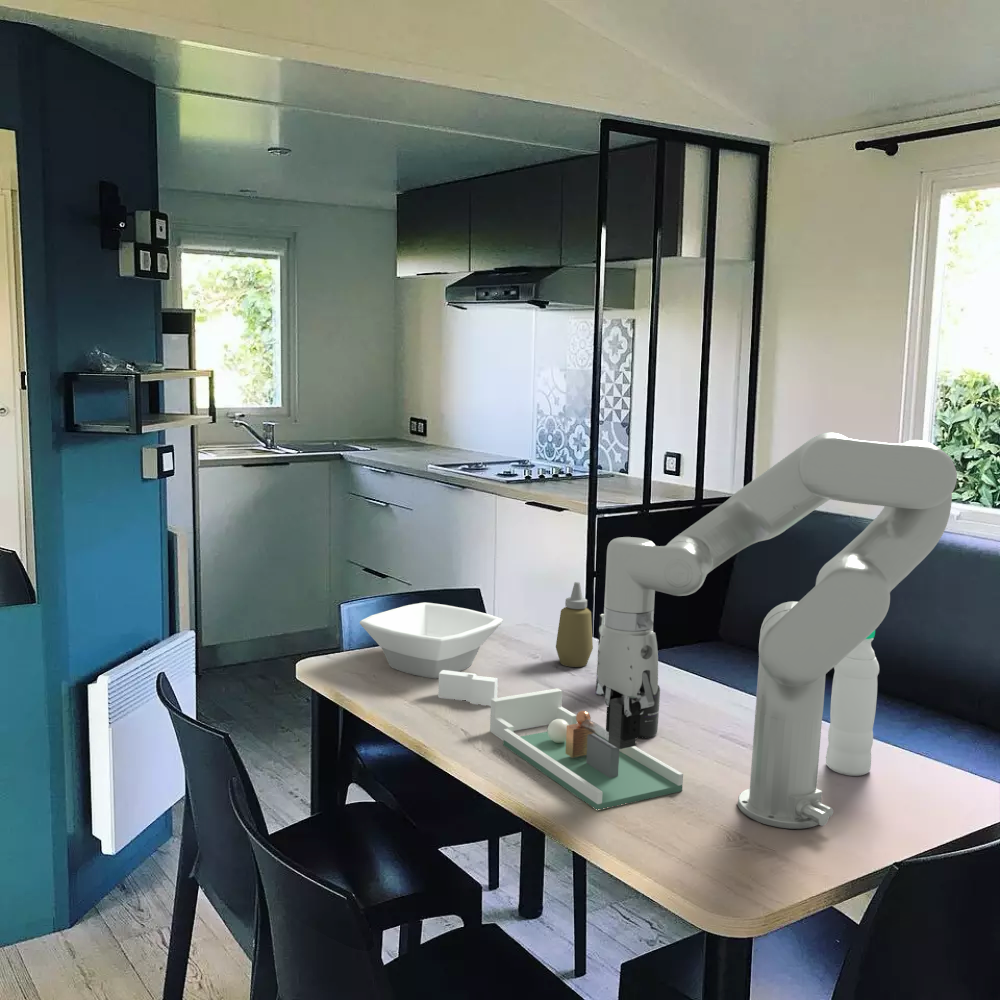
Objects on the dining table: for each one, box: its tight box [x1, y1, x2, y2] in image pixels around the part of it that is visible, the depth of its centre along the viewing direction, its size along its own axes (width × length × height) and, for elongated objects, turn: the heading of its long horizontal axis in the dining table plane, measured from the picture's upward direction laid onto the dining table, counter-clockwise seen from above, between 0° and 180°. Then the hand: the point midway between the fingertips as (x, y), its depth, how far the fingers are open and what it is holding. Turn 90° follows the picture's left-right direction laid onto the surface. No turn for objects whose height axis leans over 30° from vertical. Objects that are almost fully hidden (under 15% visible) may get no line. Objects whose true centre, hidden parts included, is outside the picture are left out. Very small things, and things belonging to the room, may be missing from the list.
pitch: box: [489, 687, 684, 811], centre depth 169 cm, size 34×16×6 cm, turn 30°
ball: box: [546, 719, 569, 743], centre depth 174 cm, size 4×4×4 cm
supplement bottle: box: [634, 684, 661, 740], centre depth 182 cm, size 7×7×12 cm
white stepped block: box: [437, 670, 499, 707], centre depth 196 cm, size 15×11×6 cm
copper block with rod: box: [566, 697, 637, 758], centre depth 163 cm, size 13×5×12 cm, turn 30°
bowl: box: [359, 602, 504, 680], centre depth 217 cm, size 24×25×10 cm
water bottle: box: [825, 629, 880, 777], centre depth 168 cm, size 7×7×25 cm
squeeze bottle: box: [555, 581, 594, 668], centre depth 221 cm, size 8×8×18 cm
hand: (622, 733), depth 158 cm, fingers closed on copper block with rod, 3 cm apart
